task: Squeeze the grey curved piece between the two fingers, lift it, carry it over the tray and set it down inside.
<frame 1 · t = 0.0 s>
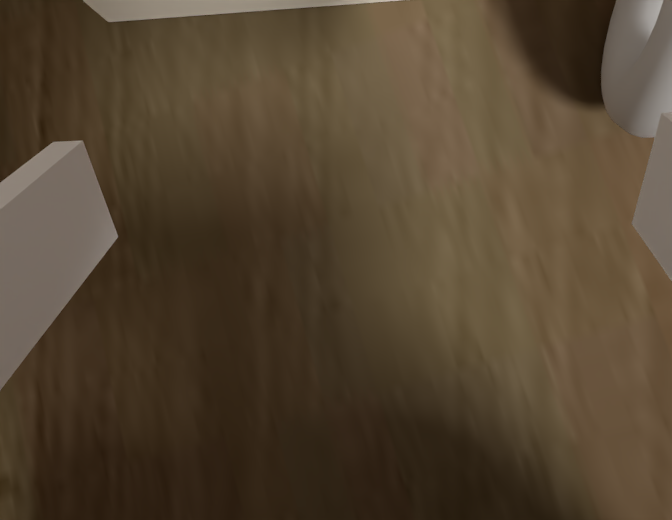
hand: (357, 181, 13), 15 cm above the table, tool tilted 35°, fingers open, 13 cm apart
grey curved piece: (625, 61, 27), on the table
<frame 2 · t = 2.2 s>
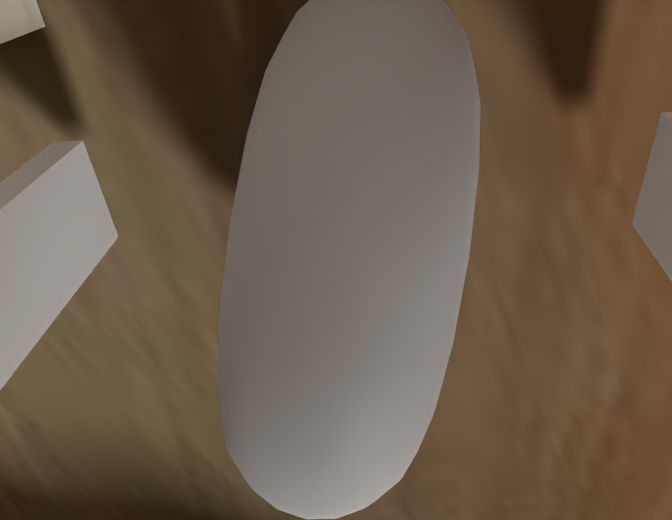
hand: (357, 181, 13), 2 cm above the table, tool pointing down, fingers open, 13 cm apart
grey curved piece: (359, 149, 15), on the table
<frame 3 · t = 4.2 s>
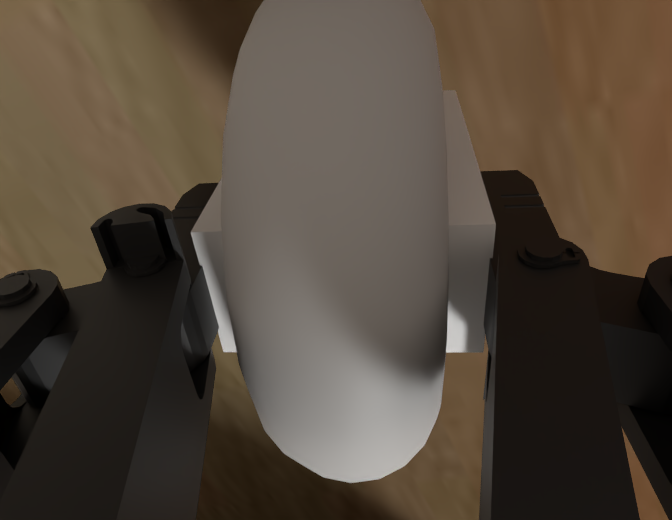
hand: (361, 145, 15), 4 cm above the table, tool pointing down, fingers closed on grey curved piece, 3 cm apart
grey curved piece: (360, 127, 16), point 2 cm above the table, touching gripper
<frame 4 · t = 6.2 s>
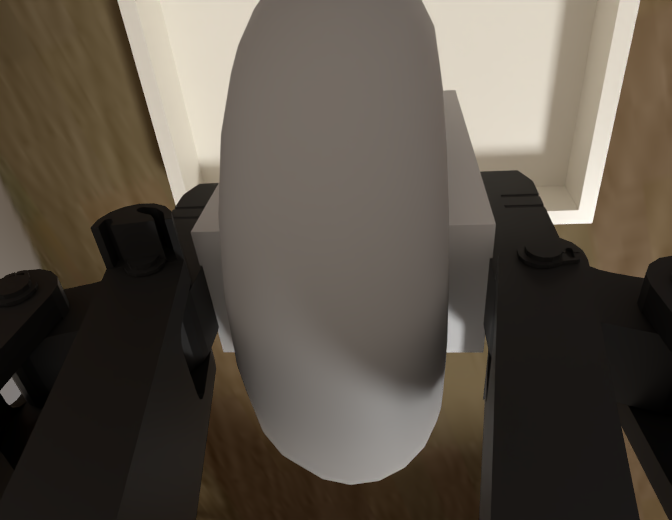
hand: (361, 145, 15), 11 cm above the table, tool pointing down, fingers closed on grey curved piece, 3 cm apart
tray: (373, 44, 24), on the table
grey curved piece: (360, 126, 15), point 10 cm above the table, touching gripper
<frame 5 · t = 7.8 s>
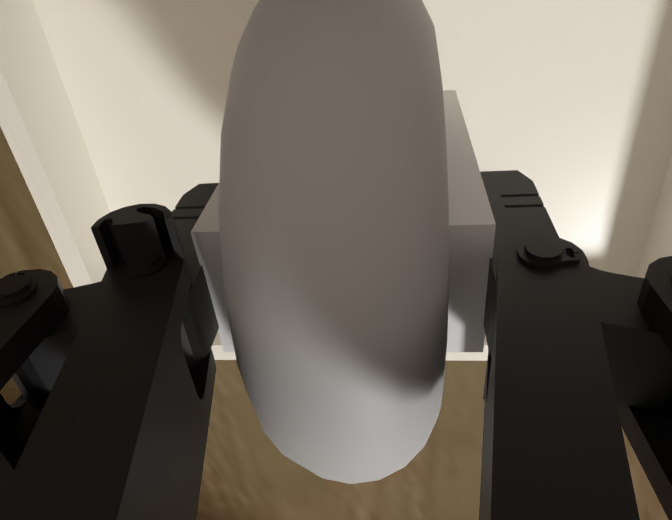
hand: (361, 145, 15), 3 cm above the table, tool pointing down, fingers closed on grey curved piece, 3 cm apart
tray: (365, 110, 17), on the table
grey curved piece: (360, 126, 15), point 1 cm above the table, touching gripper
when the fingers open (3 cm above the table, at t = 8.2 s): grey curved piece stays where it is, resting on tray.
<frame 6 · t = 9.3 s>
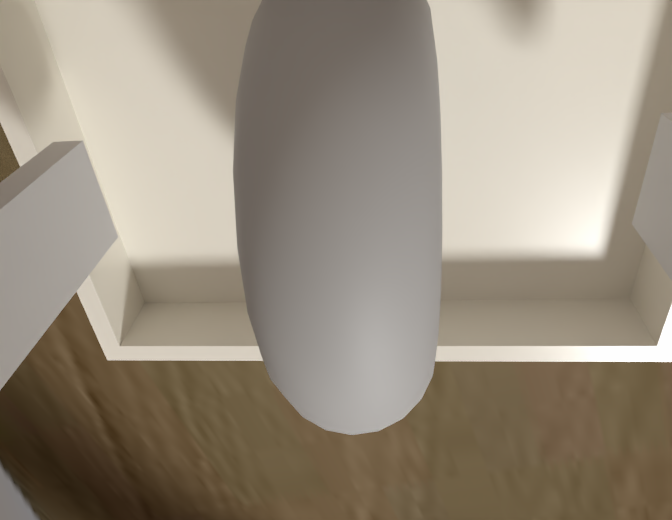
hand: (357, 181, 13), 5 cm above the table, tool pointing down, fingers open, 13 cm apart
tray: (365, 112, 17), on the table
grey curved piece: (362, 115, 16), resting on tray
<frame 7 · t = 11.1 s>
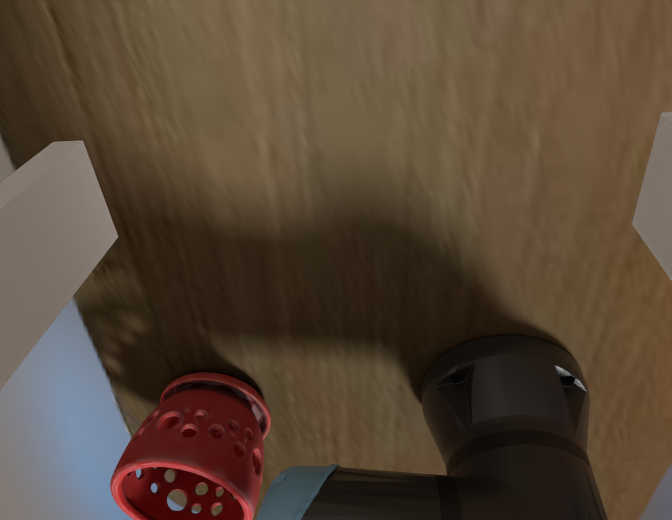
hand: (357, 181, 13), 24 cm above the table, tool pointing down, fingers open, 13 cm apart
plant pot: (216, 397, 57), on the table
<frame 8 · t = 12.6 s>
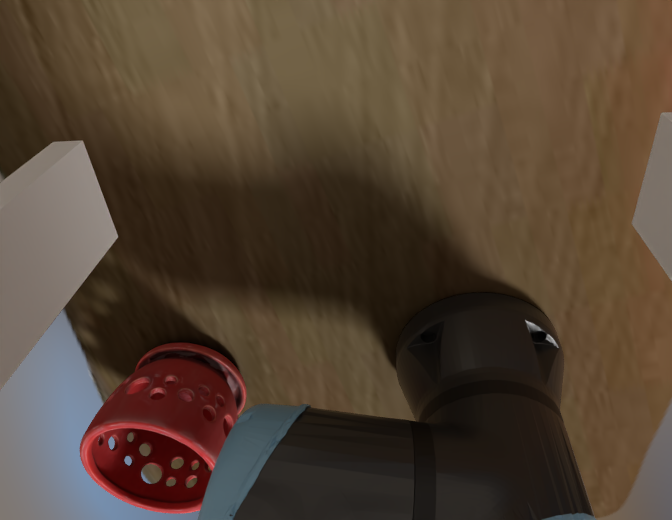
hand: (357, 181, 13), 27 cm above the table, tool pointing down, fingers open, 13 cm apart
plant pot: (192, 371, 57), on the table
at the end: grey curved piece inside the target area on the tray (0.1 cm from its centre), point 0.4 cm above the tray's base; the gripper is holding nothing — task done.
